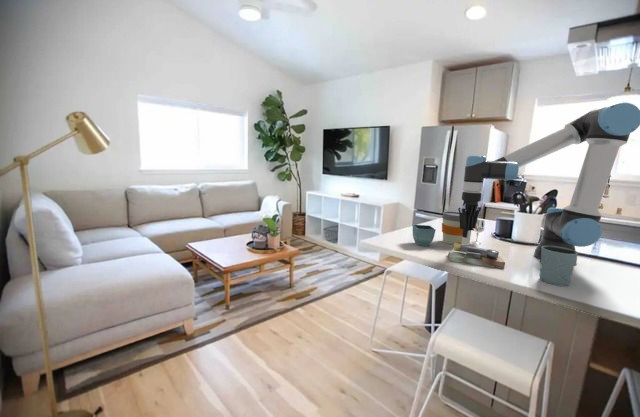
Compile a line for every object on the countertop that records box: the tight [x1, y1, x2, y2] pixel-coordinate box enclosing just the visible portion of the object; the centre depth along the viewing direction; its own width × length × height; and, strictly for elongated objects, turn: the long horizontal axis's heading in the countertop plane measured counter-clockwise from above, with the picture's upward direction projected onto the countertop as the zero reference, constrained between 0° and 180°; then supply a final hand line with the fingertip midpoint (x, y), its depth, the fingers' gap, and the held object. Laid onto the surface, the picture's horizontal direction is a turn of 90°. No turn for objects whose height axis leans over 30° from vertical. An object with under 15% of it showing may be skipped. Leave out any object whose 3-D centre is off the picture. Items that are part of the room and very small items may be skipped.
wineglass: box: [471, 218, 486, 245], centre depth 154 cm, size 6×6×12 cm
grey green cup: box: [539, 246, 579, 287], centre depth 108 cm, size 10×10×12 cm
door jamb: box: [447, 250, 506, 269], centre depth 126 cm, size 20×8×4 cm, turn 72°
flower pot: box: [412, 224, 437, 247], centre depth 147 cm, size 9×9×9 cm
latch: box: [453, 242, 499, 258], centre depth 127 cm, size 17×4×3 cm, turn 59°
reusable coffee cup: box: [441, 211, 463, 246], centre depth 153 cm, size 13×13×15 cm
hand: (465, 244), depth 134 cm, fingers closed
